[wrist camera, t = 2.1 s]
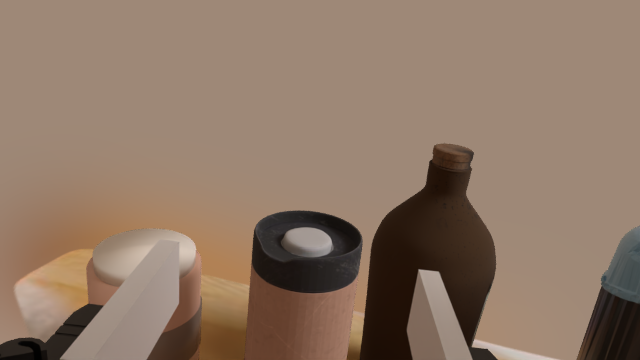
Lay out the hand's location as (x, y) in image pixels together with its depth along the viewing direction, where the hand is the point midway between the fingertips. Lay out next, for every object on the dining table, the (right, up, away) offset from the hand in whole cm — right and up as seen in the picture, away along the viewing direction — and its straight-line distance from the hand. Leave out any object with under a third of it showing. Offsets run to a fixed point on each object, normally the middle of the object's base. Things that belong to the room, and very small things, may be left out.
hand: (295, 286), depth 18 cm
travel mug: (-2, -18, +21) cm, 28 cm away
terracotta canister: (-15, -15, +26) cm, 33 cm away
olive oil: (+9, -17, +28) cm, 34 cm away
